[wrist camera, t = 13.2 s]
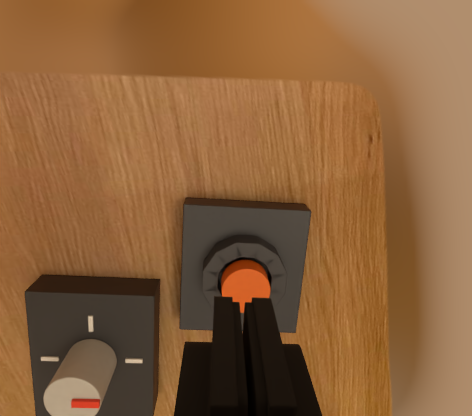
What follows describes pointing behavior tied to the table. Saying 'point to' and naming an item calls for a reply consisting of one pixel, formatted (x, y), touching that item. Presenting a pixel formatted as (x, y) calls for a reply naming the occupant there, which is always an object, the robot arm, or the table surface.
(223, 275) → the button
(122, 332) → the dial console
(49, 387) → the temp dial
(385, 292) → the table surface
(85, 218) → the table surface
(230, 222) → the grey piece
